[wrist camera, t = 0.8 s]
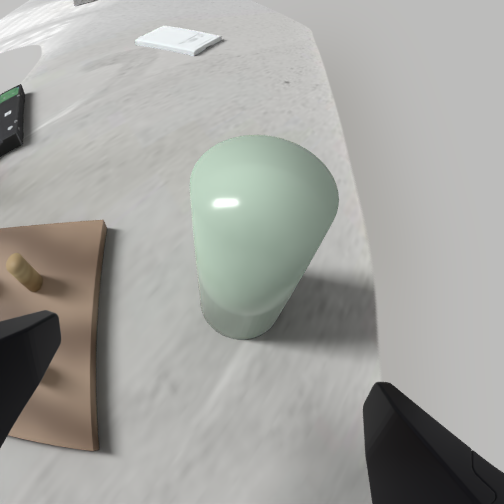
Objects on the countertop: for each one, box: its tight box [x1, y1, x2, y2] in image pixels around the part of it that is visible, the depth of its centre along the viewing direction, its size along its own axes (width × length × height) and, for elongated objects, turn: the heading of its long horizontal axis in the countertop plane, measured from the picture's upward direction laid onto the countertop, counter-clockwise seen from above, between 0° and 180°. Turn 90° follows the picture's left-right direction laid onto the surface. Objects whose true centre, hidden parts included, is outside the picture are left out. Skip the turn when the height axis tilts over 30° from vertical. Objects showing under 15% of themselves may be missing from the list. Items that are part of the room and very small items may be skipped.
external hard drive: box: [135, 26, 222, 56], centre depth 44 cm, size 2×8×12 cm
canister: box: [190, 135, 339, 340], centre depth 18 cm, size 6×6×13 cm
